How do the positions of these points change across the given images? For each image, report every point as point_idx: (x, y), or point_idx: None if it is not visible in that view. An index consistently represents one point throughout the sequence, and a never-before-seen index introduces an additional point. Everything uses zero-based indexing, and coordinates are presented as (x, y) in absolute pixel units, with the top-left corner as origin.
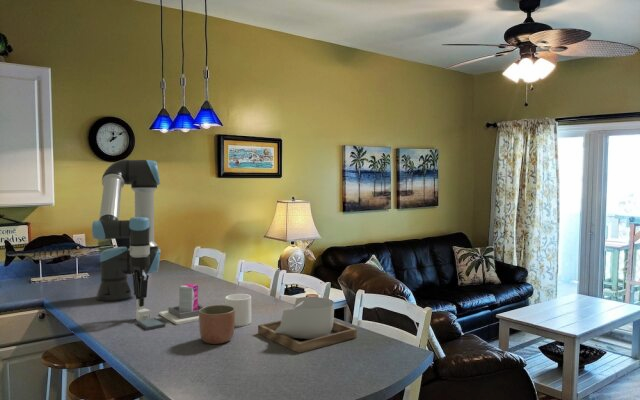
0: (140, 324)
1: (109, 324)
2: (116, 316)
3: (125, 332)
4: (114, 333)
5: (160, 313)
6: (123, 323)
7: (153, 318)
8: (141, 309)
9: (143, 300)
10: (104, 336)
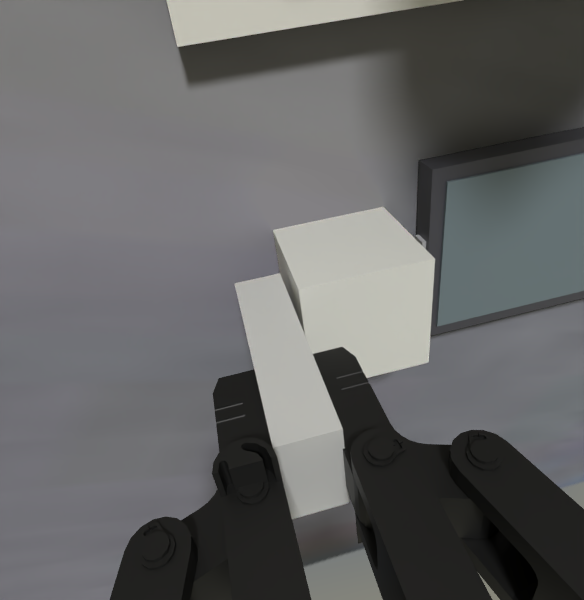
0: (512, 308)
1: None
2: (88, 460)
3: (562, 388)
4: (529, 437)
5: (232, 37)
6: None
7: (464, 189)
8: (323, 343)
9: (381, 412)
10: None
